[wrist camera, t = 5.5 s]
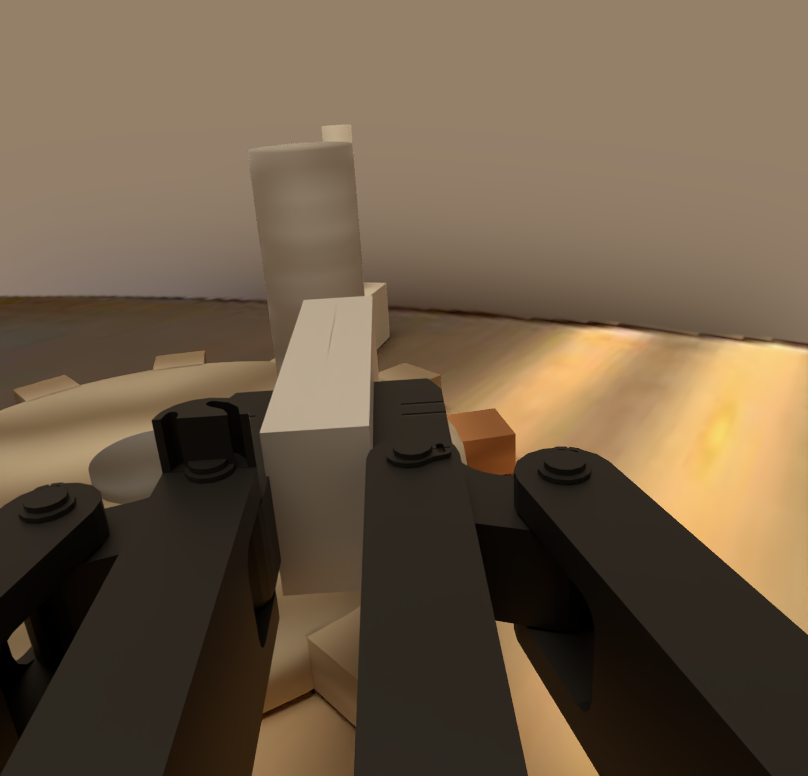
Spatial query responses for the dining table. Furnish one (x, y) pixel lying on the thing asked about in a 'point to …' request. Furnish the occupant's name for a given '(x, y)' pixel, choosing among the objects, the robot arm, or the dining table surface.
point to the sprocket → (195, 379)
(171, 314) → the dining table surface
